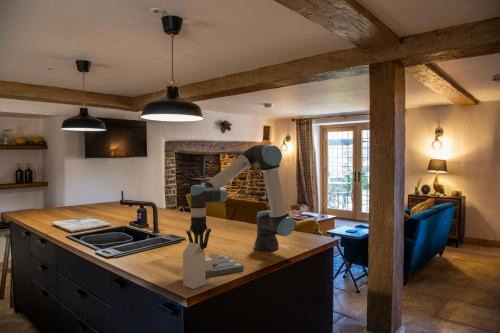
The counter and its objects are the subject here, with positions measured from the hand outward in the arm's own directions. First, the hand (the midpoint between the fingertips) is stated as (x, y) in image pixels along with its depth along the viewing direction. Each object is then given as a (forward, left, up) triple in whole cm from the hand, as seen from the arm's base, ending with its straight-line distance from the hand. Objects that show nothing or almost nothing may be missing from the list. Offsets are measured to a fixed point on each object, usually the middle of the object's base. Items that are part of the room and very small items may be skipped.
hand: (199, 262), depth 177 cm
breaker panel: (-8, 0, -4) cm, 9 cm away
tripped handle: (-8, 0, -2) cm, 8 cm away
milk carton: (+8, +17, -4) cm, 19 cm away
